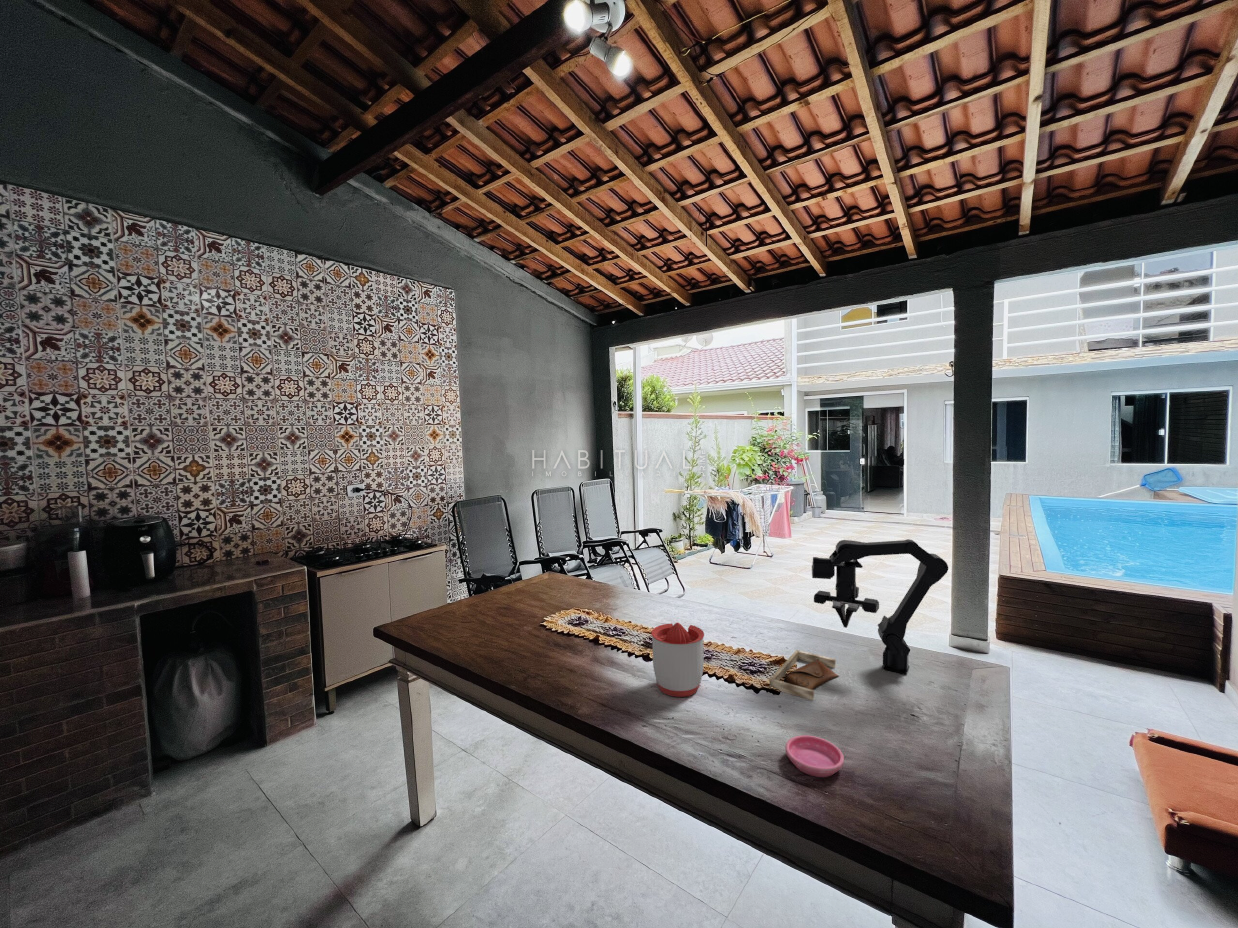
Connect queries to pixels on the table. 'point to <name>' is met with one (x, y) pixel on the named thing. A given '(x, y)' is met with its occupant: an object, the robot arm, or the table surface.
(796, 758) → the saucer
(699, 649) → the citrus juicer
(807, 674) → the sunglasses case
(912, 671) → the table surface
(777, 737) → the table surface
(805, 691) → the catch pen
